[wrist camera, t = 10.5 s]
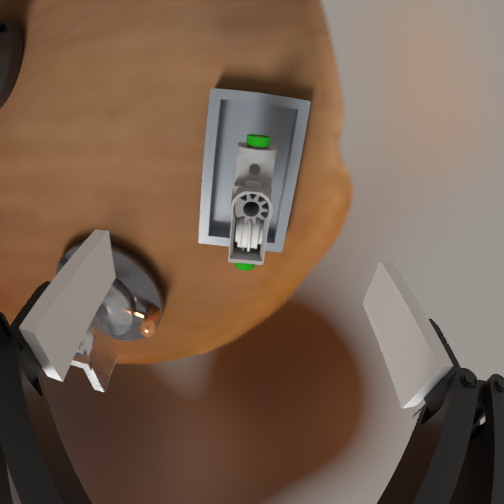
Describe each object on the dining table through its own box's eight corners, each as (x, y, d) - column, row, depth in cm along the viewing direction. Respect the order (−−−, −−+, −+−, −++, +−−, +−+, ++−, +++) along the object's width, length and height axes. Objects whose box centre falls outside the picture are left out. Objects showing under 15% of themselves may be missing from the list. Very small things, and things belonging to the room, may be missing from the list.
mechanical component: (270, 125, 26) (282, 140, 17) (259, 220, 31) (263, 273, 22) (240, 122, 26) (236, 135, 17) (231, 217, 31) (225, 270, 22)
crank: (67, 266, 32) (25, 323, 23) (131, 276, 33) (97, 344, 24) (90, 340, 40) (66, 393, 31) (145, 351, 41) (127, 411, 31)
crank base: (52, 233, 32) (28, 256, 27) (161, 246, 33) (146, 275, 28) (77, 320, 41) (63, 345, 36) (168, 338, 42) (160, 368, 37)
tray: (214, 88, 24) (210, 88, 22) (306, 100, 25) (310, 101, 23) (202, 232, 32) (198, 243, 30) (280, 241, 33) (281, 252, 31)
